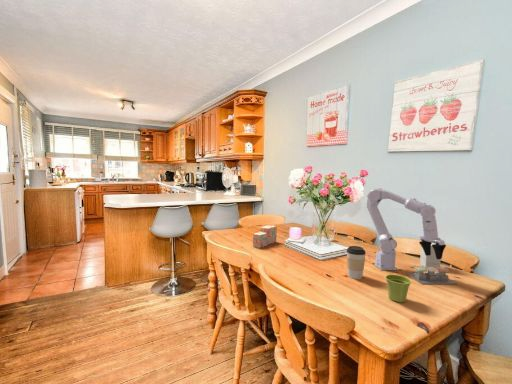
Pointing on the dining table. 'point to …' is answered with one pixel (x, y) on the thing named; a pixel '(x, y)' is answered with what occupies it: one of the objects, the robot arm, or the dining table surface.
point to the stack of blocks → (265, 236)
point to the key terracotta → (442, 270)
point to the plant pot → (397, 287)
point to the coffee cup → (355, 261)
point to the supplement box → (429, 258)
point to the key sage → (420, 270)
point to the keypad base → (431, 278)
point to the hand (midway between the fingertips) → (433, 257)
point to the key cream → (431, 270)
